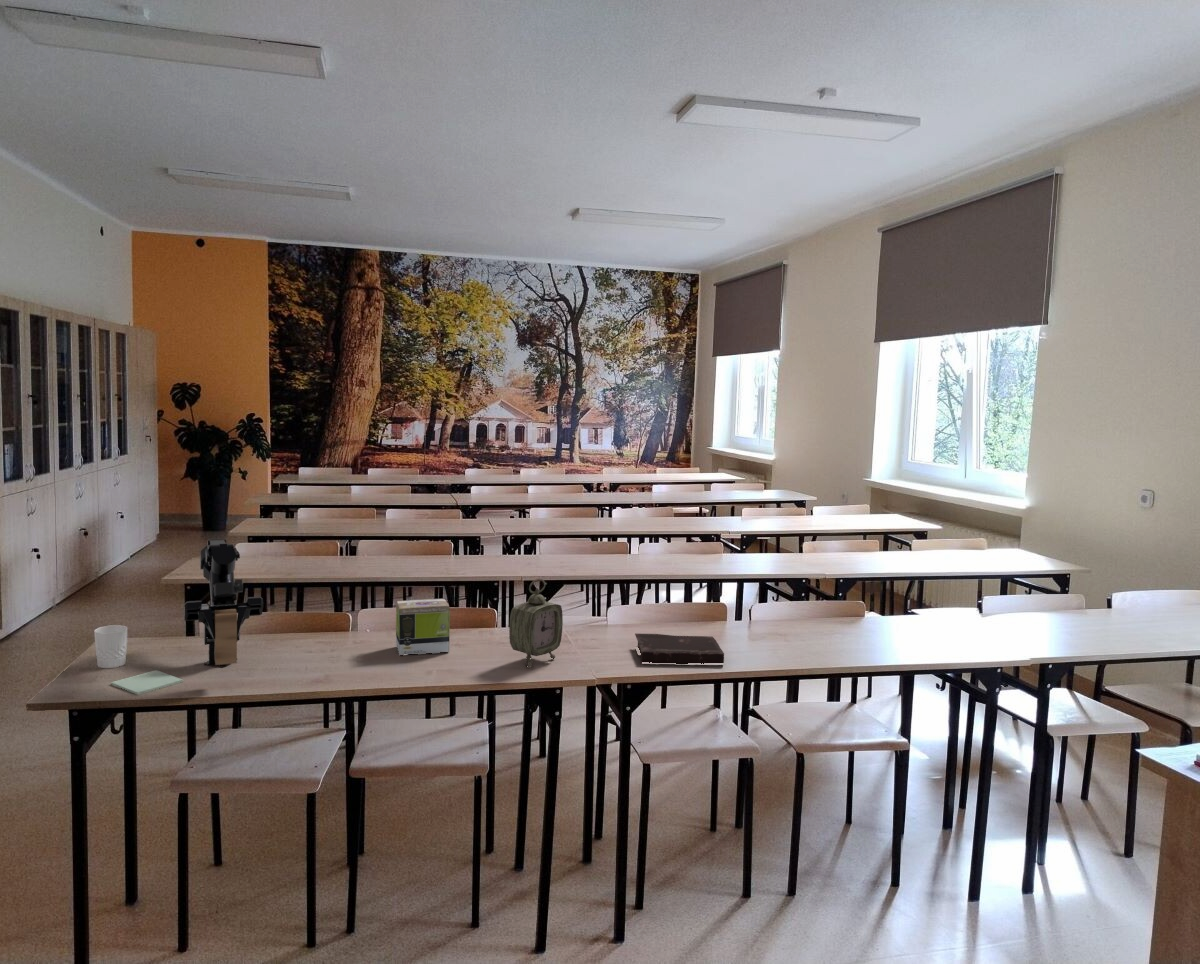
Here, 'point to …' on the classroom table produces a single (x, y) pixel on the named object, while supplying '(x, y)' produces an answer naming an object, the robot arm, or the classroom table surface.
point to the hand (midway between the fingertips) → (225, 637)
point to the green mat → (146, 682)
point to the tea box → (422, 626)
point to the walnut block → (225, 636)
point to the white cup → (111, 646)
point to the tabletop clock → (536, 625)
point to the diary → (679, 649)
